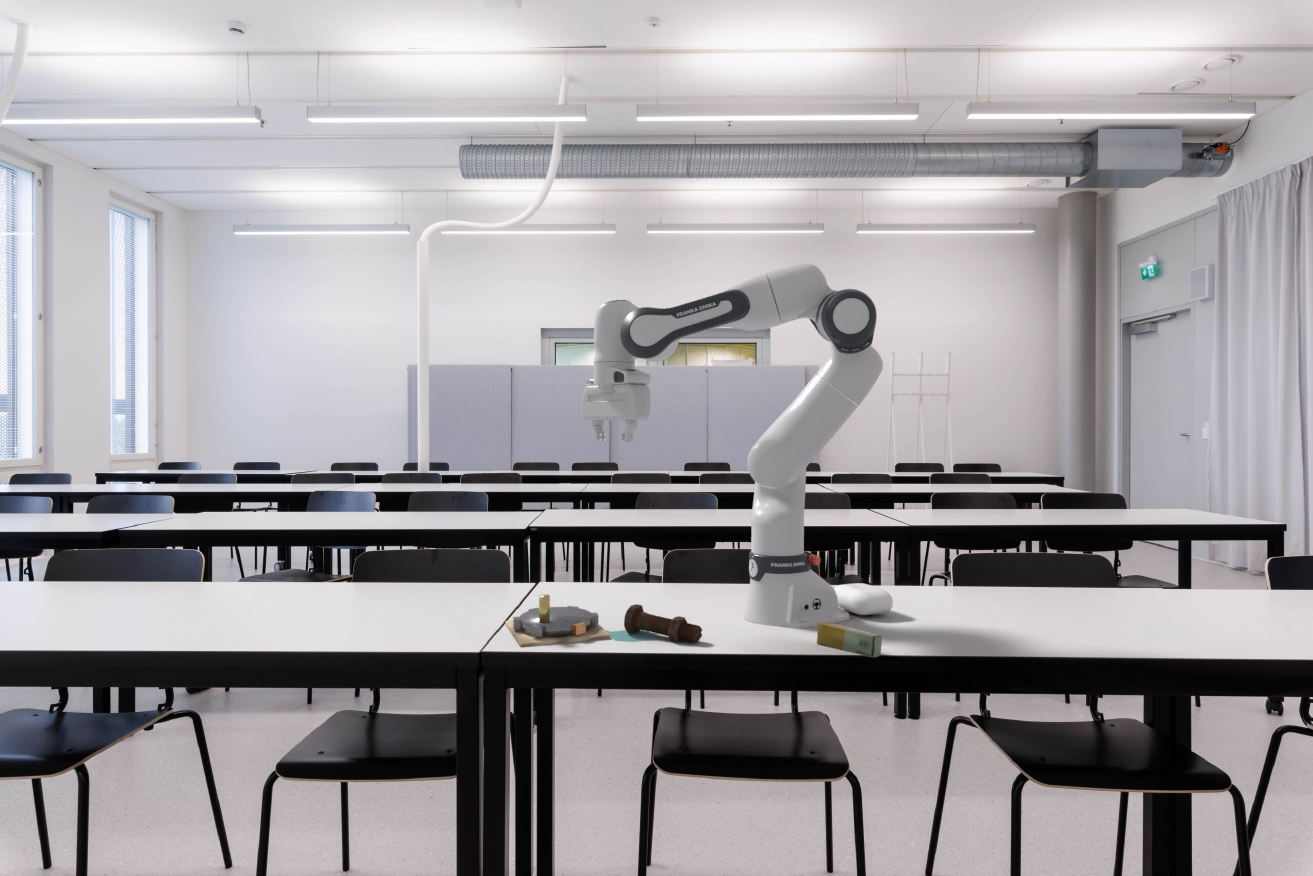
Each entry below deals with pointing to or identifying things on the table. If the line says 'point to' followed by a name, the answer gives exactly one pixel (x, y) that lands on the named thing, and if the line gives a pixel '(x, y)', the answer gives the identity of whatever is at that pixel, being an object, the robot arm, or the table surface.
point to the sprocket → (554, 620)
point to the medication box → (849, 639)
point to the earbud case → (863, 599)
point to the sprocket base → (527, 640)
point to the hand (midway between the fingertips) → (613, 441)
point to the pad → (632, 636)
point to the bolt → (661, 625)
